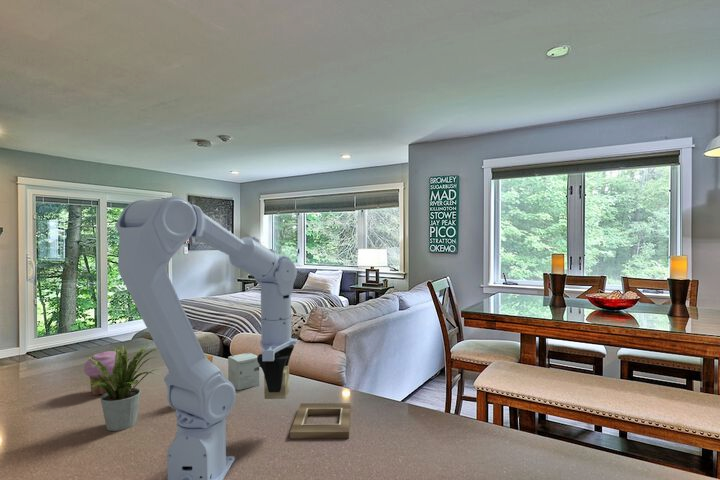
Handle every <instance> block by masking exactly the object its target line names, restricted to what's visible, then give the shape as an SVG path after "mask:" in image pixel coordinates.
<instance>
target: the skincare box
mask: <svg viewBox="0 0 720 480" xmlns="http://www.w3.org/2000/svg"><path fill="white" fill-rule="evenodd" d="M257 357H258V355H256V354H253V353H252V352H245V353H238V354H235V355H230V356H228V357H227V366H228V367H227V368H228V369H227V370H228V371H227V373H228V374H227V375H228V376H227V378H228V379H227V380H228V381H230V382H231V383H232V384H233V385H234V387H235V391H236V390H237V391H242V390H245V389H248V388H253V387H257V386H260V365H259V363H258V361H257Z"/></svg>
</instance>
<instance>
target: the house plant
mask: <svg viewBox="0 0 720 480" xmlns="http://www.w3.org/2000/svg"><path fill="white" fill-rule="evenodd" d="M121 347H122V349H121V348H120V347H117V348H116V347H115V346H113V345H112V348H113V349H114V351H115V352H116V356H115V365H114V367H113V370H112V372H113V377H114V379H113V378H112V377H111V375H110V374H109V372H108V371H107V369H106V368H105V367H104V365H103V364H102V363H100V362H99V361H98V360H96V359H94V358H92V356H86V355H84V357H85V358H88V360H89V359H91V360H92V361H93V362H94V363H95V364H96V365H97V366H98V367H99V368H100V369H99V368H98V367H97V366H95V365H93V366H95V367H96V368H98V369H99V370H100V371H101V372H103V374H104V375H105V376H106V377H107V378H108V380H109V381H110V383H111V384H112V385H113V387H114V388H115V390H114V389H113V388H112V386H111V385H110V384H109V383H108V382H107V380H106V379H105V378H104V377H103V376H102V375H101V374H100V373H98V372H97V373H98V375H99V379H100V380H101V381H102V382H103V383H102V382H100V381H93V382H91V381H90V382H89V383H90V385H91V384H93V386H92V387H95V386H99V387H101V388H103V389H104V390H105V391H106V392H107V393H106V394H101V397H100V403H101V408H102V413H103V417H104V422H105V427H106V429H107V431H113V432H119V431H123V430H126V429H129V428H131V427H133V426H135V425H136V424H137V419H138V412H139V406H140V400H141V395H142V394H141V393H142V390H141V389H140V388H137V385H138V384H140V382H142V380H143V379H144V378H146V377H147V376H148V375H149V374H152V375H154V373H153V372H155V371H156V370H158V371H159V368H157V369H156V368H155V369H152V370H150V371H142V372H140V373H138V371H139V370H140V368H141V367H142V366H143V365H144V364H145V363H146V362H148V361H149V360H151V359H155V358H157V357H149V358H148V359H146V360H144V361H143V362H142V363H140V362H141V361H142V360H143V359H144V358H145V357H146V356H147V355H149V354H150V353H152V352H154V351H158V349H157V348H155V349H151V350H148V351H146V349H147V348H148V347H149V344H147V345H145V346H143V347H142V348H140V349H139V351H137V353H136V354H135V356H132V357H130V358H128V352H127V349H126V346H125V345H124V343H123V342H122V343H121ZM145 352H146V353H145ZM130 360H131V361H130ZM128 361H130V362H129V363H128ZM91 365H92V364H91ZM137 367H138V368H137ZM136 373H138V374H136ZM142 375H144V376H142ZM140 376H142V377H141V379H139V380H138V378H139V377H140ZM92 387H91V386H90V389H91V388H92Z"/></svg>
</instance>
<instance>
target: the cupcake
mask: <svg viewBox="0 0 720 480" xmlns="http://www.w3.org/2000/svg"><path fill="white" fill-rule="evenodd" d="M115 356H116V351H115V350H113V351H112V350H109V351H103V352H98V353H95V354H93V355H92V356H91V357H92V358H94V359H96V360H98V361H99V362H100V363H102V364H103V365H104V367H105V368H106V369H107V371H108V372H109V374H110V375H111V377H112V378H113V379H114V377H113V372H112V370H113V367H114V365H115ZM91 364H92V365H91ZM93 365H95V366H97V365H96V364H95V363H94V362H93V361H92V360H91V359H89V358H88V359H87V361H86V362H85V364H84V369H83V372H84V374H86V375H87V376H89V377H88V378H89V380H90V382H93V381H100V382H102V381H101V380H100V379H99V375H98V373H100V374H101V375H102V376H103V377H104V378H105V379H106V380H107V382H108V383H109V384H110V385H111V386H112V388H113V389H114V390H115V388H114V387H113V385H112V384H111V383H110V381H109V380H108V378H107V377H106V376H105V375H104V374H103V372H101V371H100V370H99V369H100V368H99V367H98V366H97V367H98V368H99V369H98V368H96V367H95V366H93ZM97 372H98V373H97ZM102 383H103V382H102ZM92 386H93V384H91V383H90V390H91V393H92V394H93V395H95V396H97V395H98V396H99V395H104V394H106V393H107V392H106V391H105V390H104V389H103V388H101V387H99V386H95V387H92ZM91 387H92V388H91Z"/></svg>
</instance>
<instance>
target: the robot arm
mask: <svg viewBox="0 0 720 480" xmlns="http://www.w3.org/2000/svg"><path fill="white" fill-rule="evenodd" d="M115 228H116V230H117V233H118V235H119V236H118V238H119V239H118V242H119V243H118V259H117V260H118V261H117V269H118V270H117V271H118V272H119V275H120V277H121V280H122V282H123V283H124V285H125V288H126V289H127V291H128V293H129V296H130V297H131V299H132V301H133V303H134V305H135V307H136V309H137V311H138V313H139V315H140V317H141V319H142V321H143V323H144V325H145V327H146V329H147V331H148V332H149V336H151V339H152V342H153V343H154V345H155V346H156V349H158V350H157V351H158V353H159V354H160V356H161V359H162V360H163V363H164V365H165V366H166V369H167V370H168V372H167V373H166V375H165V376H164V378H163V381H164V382H165V384H166V389H167V398H166V399H167V403H168V405H169V406H170V407H171V408H172V410H175V418H176V432H175V433H176V434H175V436H174V438H173V440H172V442H171V443H170V445H169V446H168V448H167V449H168V450H167V452H166V453H167V454H166V464H167V465H166V469H167V472H166V473H167V475H166V477H167V480H224V479H225V477H226V475H227V473H228V472H229V470H230V468H231V467H232V465H233V463H234V461H235V459H236V457H235V456H233V455H228V456H227V433H226V432H227V427H226V425H227V423H226V421H227V420H226V419H228V418H229V415H230V413H231V411H232V409H233V408H234V405H235V401H236V396H237V395H236V393H237V392H236V389H235V387H234V385H233V384H232V383H231V382H230V381H228V379H226V378H225V376H224V375H223V372H222V370H221V369H220V368H218V366H217V365H215V364H214V363H213V362H212V363H211V362H210V361H209V360H208V359H207V358H206V357H205V355H206V354H205V352H204V350H203V348H202V346H201V344H200V341H199V339H198V337H197V335H196V333H195V330H194V329H193V325H192V324H191V322H190V320H189V318H188V315H187V313H186V311H185V309H184V306H183V305H182V304H183V303H181V301H180V298H179V295H178V293H177V292H176V289H175V287H174V285H173V282H172V280H171V278H170V276H169V274H168V272H167V267H168V265H169V263H170V262H171V259H172V258H173V257H174V255H175V254H176V253H177V252H178V251H179V250H180V249H181V247H182V246H184V244H185V243H186V242H187V241H188V240H189V239H190V238H192V239H194V240H196V241H198V242H201V243H203V244H204V245H207V246H209V247H211V248H213V249H214V250H218V251H219V252H222V253H224V254H225V255H227V256H228V258H229V262H230V264H231V265H232V266H234V267H236V268H238V269H239V270H242V271H243V272H245V273H247V274H249V275H250V276H252V277H253V278H254V281H255V282H256V284H259V285H260V332H261V333H260V335H261V339H260V347H261V350H262V351H261V353H259V354H258V355H257V356H258V357H257V361H258V363H259V367H260V368H261V370H262V372H263V375H264V376H265V379H266V384H267V388H268V391H269V392H280V390H281V385H282V378H283V371H284V367H285V366H289V363H290V359H291V355H292V353H293V351H294V348H295V345H297V344H298V338H292V301H291V299H292V298H291V294H293V291H294V283H295V281H296V279H297V276H298V269H296V265H295V262H294V261H292V258H290V257H289V256H285V255H284V256H283V255H282V256H279V255H278V254H277V252H276V250H275V249H272V248H268V247H266V246H264V245H263V244H262V243H260V239H259V238H258V237H255V236H244V237H241V238H239V237H238V236H236V235H235V234H233V233H232V232H231V231H229V230H228V229H226V227H224V226H222V225H221V224H220V223H218V222H217V221H215V220H214V219H212V218H211V217H209V216H208V215H207V214H205V213H204V212H203V210H202V209H201V207H200V206H198V205H195V204H193V203H192V204H191V203H190V201H188V200H187V199H185V198H184V197H180V196H169V197H165V198H157V199H150V200H149V199H148V200H143V199H142V200H141V199H139V200H135V201H131V202H130V203H129V204H128V205H126V206H125V208H124V209H123V210H122V212H121V214H120V216H119V218H118V220H117V221H116V223H115ZM264 376H263V377H264Z"/></svg>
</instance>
